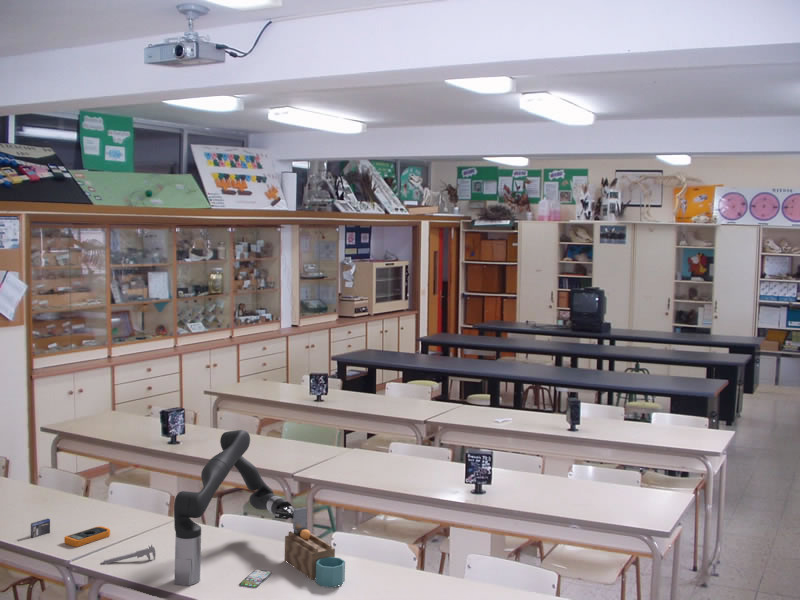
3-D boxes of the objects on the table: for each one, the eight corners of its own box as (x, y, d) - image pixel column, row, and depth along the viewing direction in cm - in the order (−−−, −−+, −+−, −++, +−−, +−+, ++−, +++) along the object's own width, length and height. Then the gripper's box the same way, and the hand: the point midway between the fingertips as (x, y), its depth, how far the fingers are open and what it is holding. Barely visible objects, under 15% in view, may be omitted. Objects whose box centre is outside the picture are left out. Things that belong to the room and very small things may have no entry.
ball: (308, 541, 314) (309, 531, 314) (298, 540, 315) (299, 530, 315) (311, 538, 318) (311, 528, 318) (301, 537, 319) (302, 527, 319)
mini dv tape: (32, 538, 336) (32, 524, 336) (30, 537, 337) (30, 523, 337) (49, 532, 343) (50, 519, 343) (47, 532, 344) (47, 518, 344)
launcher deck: (284, 560, 320) (285, 532, 320) (306, 556, 326) (307, 528, 326) (311, 579, 302) (312, 549, 302) (334, 574, 308) (335, 544, 308)
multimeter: (112, 536, 342) (112, 528, 342) (76, 548, 327) (76, 540, 326) (99, 532, 346) (99, 524, 346) (62, 544, 331) (62, 536, 331)
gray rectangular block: (292, 535, 320) (293, 508, 319) (303, 533, 323) (304, 506, 322) (296, 538, 317) (297, 510, 317) (307, 536, 320) (308, 508, 320)
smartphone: (237, 584, 294) (255, 569, 309) (237, 587, 294) (255, 571, 309) (256, 587, 292) (273, 571, 307) (256, 590, 293) (273, 574, 307)
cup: (311, 579, 302) (312, 560, 302) (334, 574, 308) (335, 555, 308) (325, 589, 294) (325, 569, 293) (348, 583, 300) (349, 563, 299)
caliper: (155, 559, 318) (155, 543, 318) (155, 560, 317) (155, 544, 317) (100, 563, 312) (100, 547, 311) (100, 564, 311) (100, 548, 310)
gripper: (264, 500, 331) (284, 511, 317) (293, 495, 339) (313, 506, 324) (264, 518, 331) (283, 530, 317) (292, 513, 339) (312, 524, 325)
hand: (298, 518), depth 321 cm, fingers closed
